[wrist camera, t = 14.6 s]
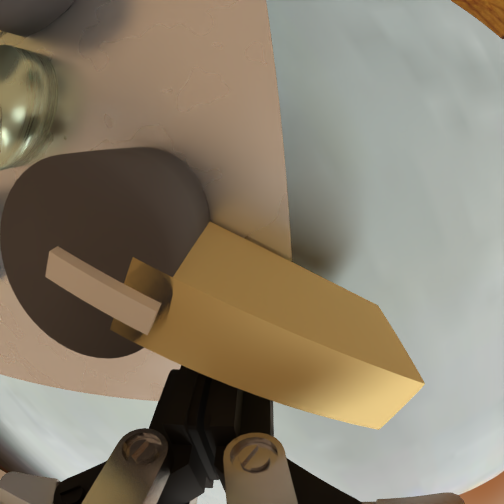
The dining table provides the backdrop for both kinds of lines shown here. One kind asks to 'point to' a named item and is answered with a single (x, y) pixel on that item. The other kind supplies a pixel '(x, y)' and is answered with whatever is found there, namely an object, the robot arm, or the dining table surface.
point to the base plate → (143, 139)
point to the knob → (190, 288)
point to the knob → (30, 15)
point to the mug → (486, 13)
